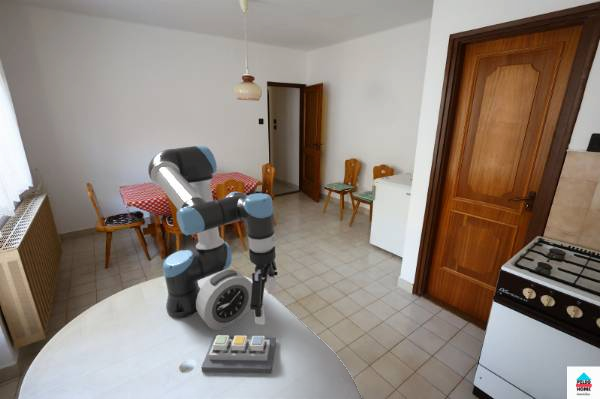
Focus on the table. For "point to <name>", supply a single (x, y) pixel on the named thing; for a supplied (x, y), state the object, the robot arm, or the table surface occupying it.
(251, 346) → the key blue
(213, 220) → the robot arm
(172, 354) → the table surface
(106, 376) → the table surface
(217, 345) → the key sage
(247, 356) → the keypad
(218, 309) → the alarm clock
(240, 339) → the key ochre
